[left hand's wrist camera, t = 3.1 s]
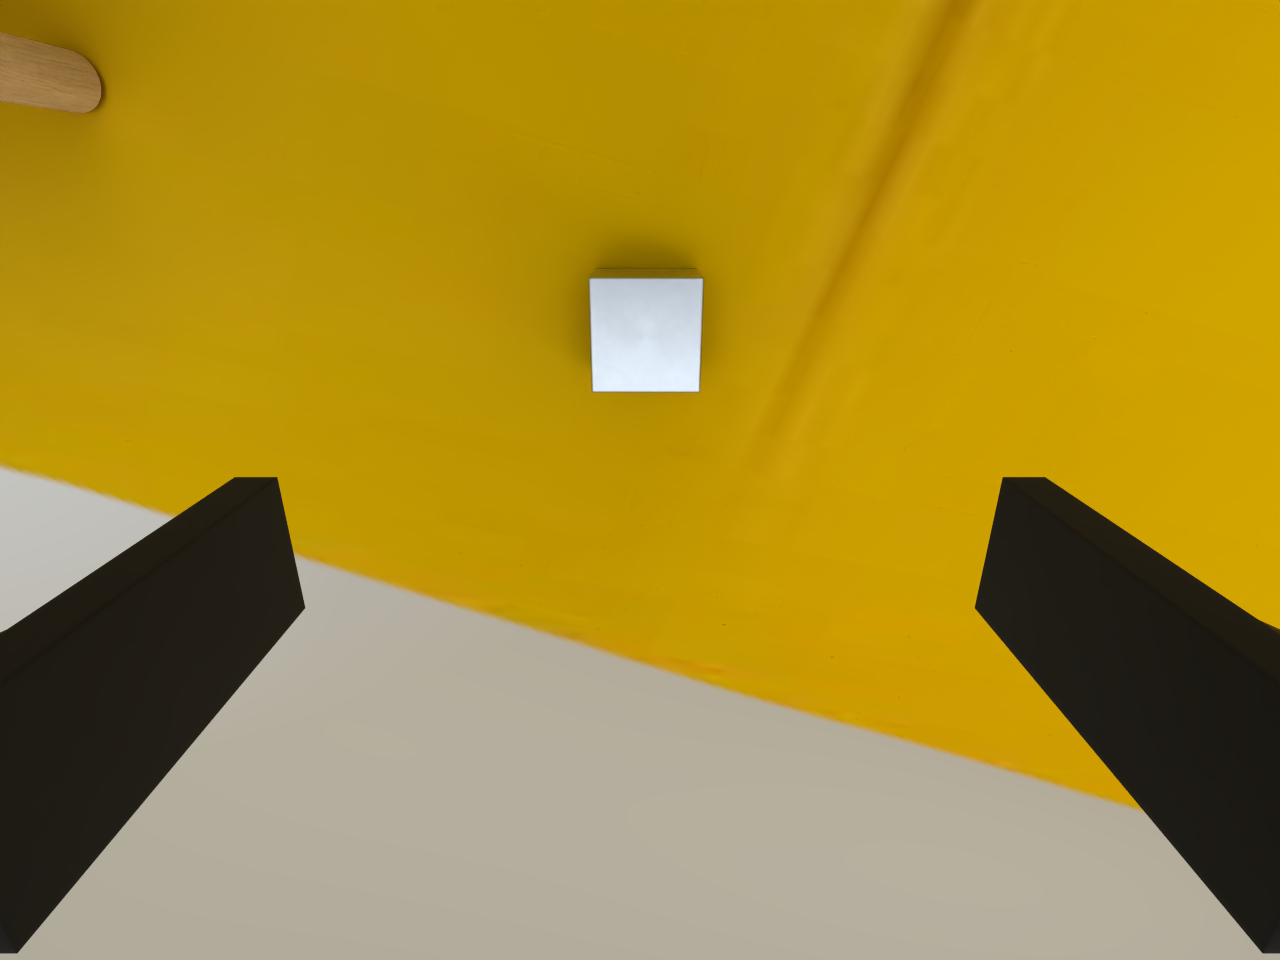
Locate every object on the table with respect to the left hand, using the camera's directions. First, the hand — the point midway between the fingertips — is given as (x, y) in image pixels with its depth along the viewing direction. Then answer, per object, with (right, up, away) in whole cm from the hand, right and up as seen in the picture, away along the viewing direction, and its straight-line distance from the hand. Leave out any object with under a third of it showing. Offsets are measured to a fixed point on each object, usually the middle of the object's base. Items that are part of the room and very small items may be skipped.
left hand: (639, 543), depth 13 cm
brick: (0, +9, +22) cm, 24 cm away
